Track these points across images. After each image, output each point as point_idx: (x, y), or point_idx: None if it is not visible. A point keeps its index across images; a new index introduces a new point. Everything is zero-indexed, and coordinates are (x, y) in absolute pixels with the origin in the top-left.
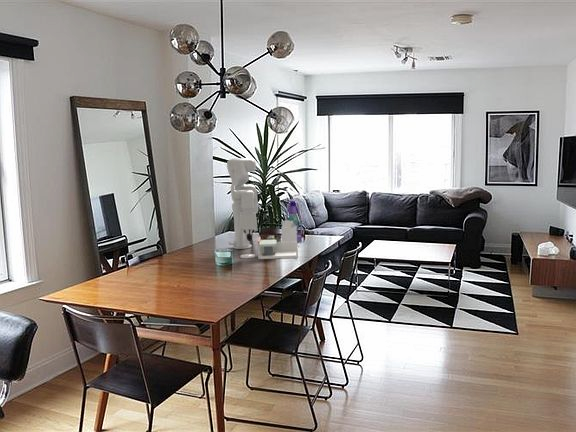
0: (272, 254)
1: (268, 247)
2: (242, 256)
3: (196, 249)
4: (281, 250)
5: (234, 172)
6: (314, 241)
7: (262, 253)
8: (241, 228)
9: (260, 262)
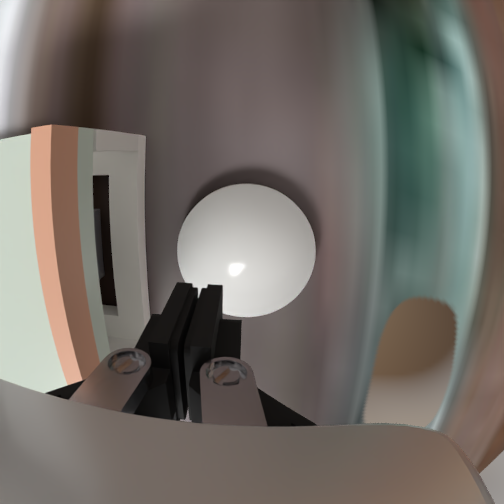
0: None
1: None
2: (296, 215)
3: (475, 455)
4: None
5: None
6: None
7: (117, 293)
8: (448, 445)
9: (136, 13)
